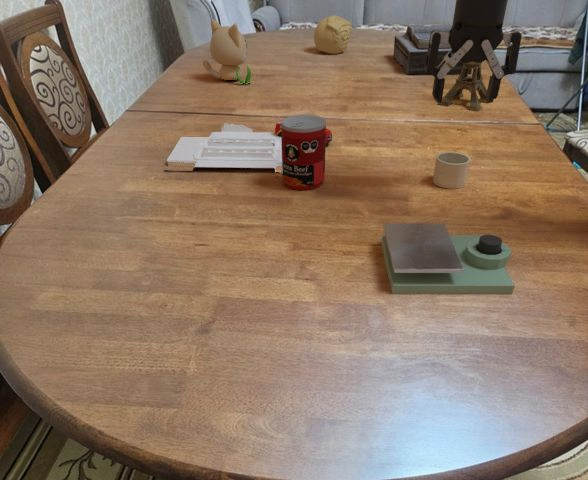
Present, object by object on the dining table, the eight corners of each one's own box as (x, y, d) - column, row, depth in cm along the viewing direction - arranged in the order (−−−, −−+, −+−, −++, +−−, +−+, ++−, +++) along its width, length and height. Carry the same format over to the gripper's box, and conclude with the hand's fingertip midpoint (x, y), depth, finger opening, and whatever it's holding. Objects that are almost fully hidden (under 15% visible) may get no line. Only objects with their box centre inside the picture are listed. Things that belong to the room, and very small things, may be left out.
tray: (306, 173, 105) (306, 154, 103) (164, 177, 107) (160, 158, 104) (310, 137, 121) (309, 119, 118) (185, 140, 123) (182, 123, 120)
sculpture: (339, 57, 179) (341, 19, 172) (307, 53, 184) (308, 16, 177) (355, 50, 186) (357, 14, 180) (324, 47, 191) (325, 11, 184)
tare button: (496, 245, 78) (498, 234, 76) (501, 256, 75) (504, 244, 74) (474, 245, 78) (477, 234, 76) (479, 256, 75) (482, 244, 74)
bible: (464, 55, 179) (470, 21, 172) (473, 77, 158) (480, 38, 152) (392, 54, 182) (396, 20, 175) (392, 74, 161) (395, 37, 155)
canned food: (274, 185, 101) (272, 123, 94) (298, 171, 106) (297, 111, 99) (309, 194, 97) (309, 131, 90) (332, 179, 103) (334, 118, 95)
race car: (336, 141, 117) (337, 122, 115) (324, 149, 114) (324, 129, 111) (285, 130, 123) (285, 111, 120) (271, 137, 119) (271, 118, 117)
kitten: (262, 81, 157) (260, 21, 147) (236, 88, 151) (232, 26, 142) (228, 72, 165) (223, 15, 155) (202, 79, 159) (196, 20, 150)
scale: (492, 243, 83) (496, 225, 81) (519, 294, 73) (525, 275, 71) (380, 243, 84) (382, 225, 82) (391, 294, 73) (394, 275, 71)
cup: (462, 175, 103) (466, 151, 100) (469, 188, 99) (474, 164, 96) (430, 175, 103) (433, 152, 101) (435, 188, 99) (439, 164, 96)
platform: (443, 226, 81) (444, 222, 81) (462, 273, 71) (463, 269, 71) (383, 226, 81) (383, 223, 81) (393, 273, 71) (394, 269, 71)
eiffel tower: (492, 100, 140) (517, -16, 124) (478, 111, 134) (502, -11, 118) (453, 94, 145) (472, -19, 129) (437, 104, 138) (455, -14, 122)
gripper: (440, -10, 79) (424, 108, 89) (540, -11, 79) (512, 108, 89) (431, -16, 85) (417, 95, 95) (524, -17, 84) (500, 95, 95)
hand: (463, 101), depth 92 cm, fingers open, 8 cm apart
